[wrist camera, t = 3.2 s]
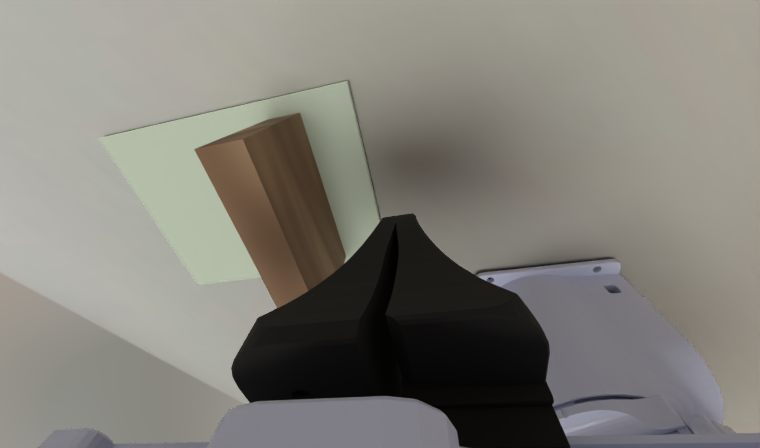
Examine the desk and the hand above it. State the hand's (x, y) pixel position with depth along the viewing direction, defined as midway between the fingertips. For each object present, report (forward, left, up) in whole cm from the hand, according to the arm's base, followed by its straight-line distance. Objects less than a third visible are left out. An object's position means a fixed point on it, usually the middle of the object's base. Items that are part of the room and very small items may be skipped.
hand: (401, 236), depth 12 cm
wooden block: (+6, 0, -6) cm, 9 cm away
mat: (+10, 0, -7) cm, 12 cm away
